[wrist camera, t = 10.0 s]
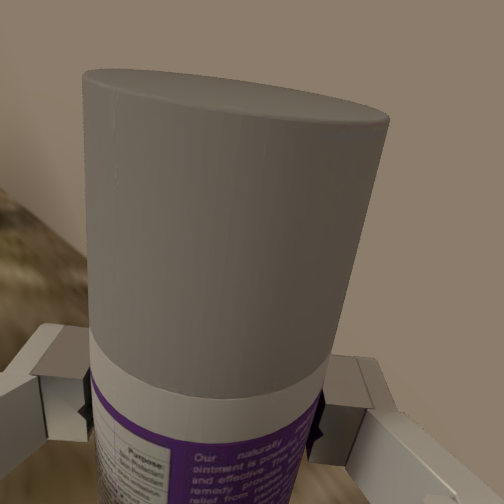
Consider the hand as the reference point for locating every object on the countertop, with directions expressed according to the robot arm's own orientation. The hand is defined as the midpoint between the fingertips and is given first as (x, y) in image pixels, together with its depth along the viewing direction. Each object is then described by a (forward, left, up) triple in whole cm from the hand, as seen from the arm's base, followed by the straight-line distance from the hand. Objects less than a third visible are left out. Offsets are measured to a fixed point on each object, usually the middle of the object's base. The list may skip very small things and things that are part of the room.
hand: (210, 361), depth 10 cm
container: (0, -1, -9) cm, 9 cm away
